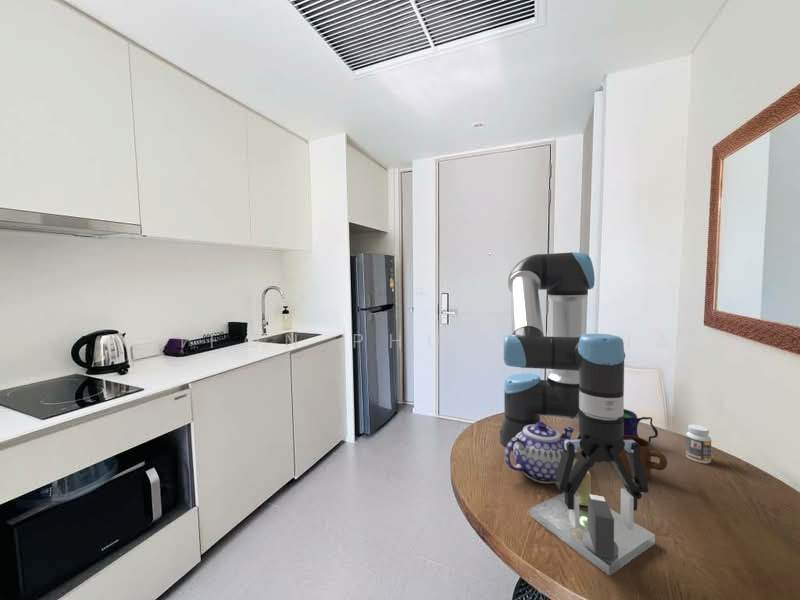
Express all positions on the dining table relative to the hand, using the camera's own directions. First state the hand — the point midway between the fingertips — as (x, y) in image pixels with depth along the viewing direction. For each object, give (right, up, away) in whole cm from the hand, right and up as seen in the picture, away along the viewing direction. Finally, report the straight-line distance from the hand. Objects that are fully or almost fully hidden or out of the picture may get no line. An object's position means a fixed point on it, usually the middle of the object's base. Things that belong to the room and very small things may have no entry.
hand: (600, 524), depth 64 cm
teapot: (+1, -6, +29) cm, 30 cm away
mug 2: (+28, -5, +26) cm, 39 cm away
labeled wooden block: (+4, -4, +15) cm, 16 cm away
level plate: (+2, -6, +7) cm, 10 cm away
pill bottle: (+52, -5, +35) cm, 63 cm away
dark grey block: (0, -5, 0) cm, 5 cm away
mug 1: (+38, -4, +46) cm, 60 cm away
